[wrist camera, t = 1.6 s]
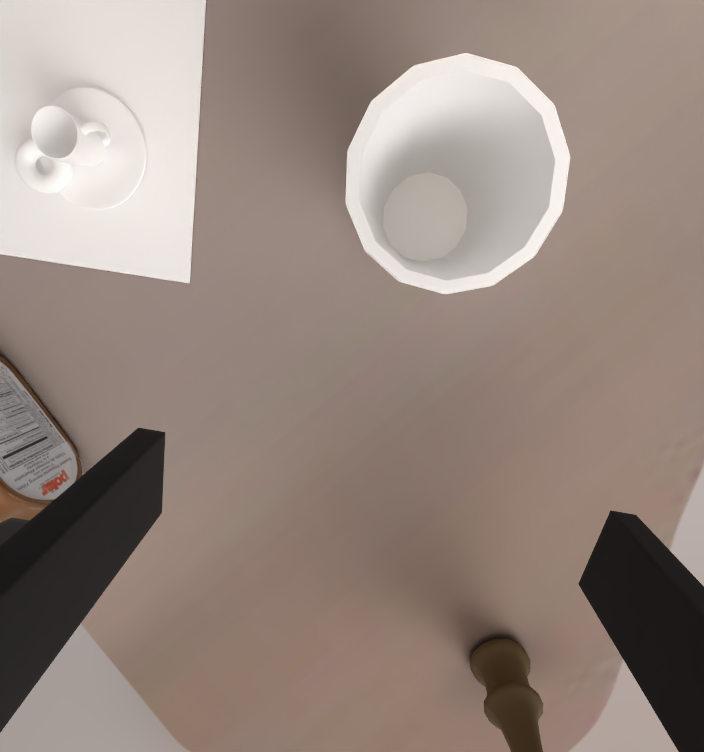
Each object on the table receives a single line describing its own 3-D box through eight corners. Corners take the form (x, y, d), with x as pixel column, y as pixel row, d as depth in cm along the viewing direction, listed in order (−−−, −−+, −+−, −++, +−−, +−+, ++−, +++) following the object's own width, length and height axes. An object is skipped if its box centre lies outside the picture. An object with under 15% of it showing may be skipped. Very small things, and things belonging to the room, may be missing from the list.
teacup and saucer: (32, 200, 32) (-16, 190, 28) (29, 81, 30) (-23, 52, 26) (147, 217, 32) (114, 209, 28) (151, 98, 30) (117, 72, 26)
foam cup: (443, 117, 29) (492, -1, 17) (516, 232, 31) (612, 202, 18) (332, 206, 31) (301, 159, 19) (406, 311, 33) (423, 334, 20)
